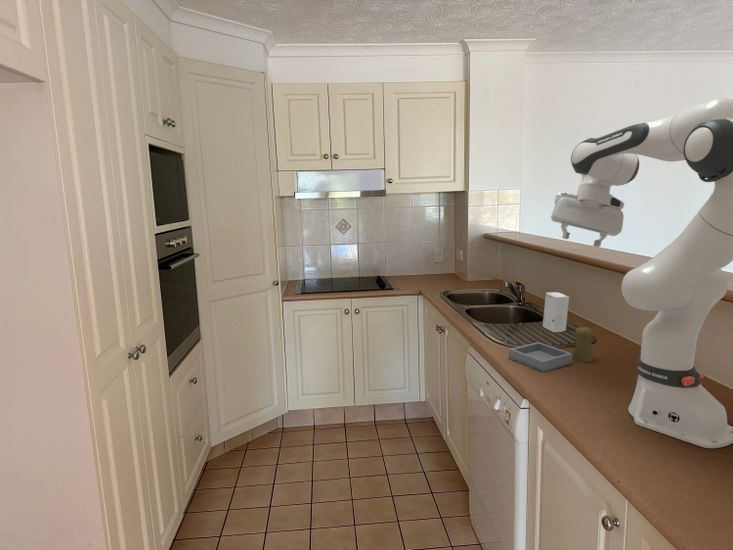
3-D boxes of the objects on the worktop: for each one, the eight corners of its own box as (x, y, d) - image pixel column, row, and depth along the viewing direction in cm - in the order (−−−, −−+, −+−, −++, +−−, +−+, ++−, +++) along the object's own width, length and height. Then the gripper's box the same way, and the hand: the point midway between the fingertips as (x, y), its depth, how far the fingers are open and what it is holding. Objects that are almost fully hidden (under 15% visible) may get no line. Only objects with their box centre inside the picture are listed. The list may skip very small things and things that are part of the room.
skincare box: (542, 327, 194) (544, 292, 192) (555, 326, 195) (557, 291, 193) (553, 333, 186) (555, 296, 184) (567, 332, 187) (569, 295, 185)
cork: (581, 363, 154) (583, 331, 152) (568, 357, 159) (570, 326, 157) (596, 361, 155) (598, 329, 153) (583, 355, 161) (585, 324, 159)
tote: (572, 363, 153) (572, 353, 153) (542, 372, 147) (542, 361, 146) (538, 351, 165) (538, 342, 165) (509, 358, 159) (509, 349, 158)
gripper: (560, 188, 141) (549, 231, 140) (630, 204, 138) (619, 249, 137) (554, 193, 147) (543, 235, 146) (620, 209, 145) (610, 252, 144)
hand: (580, 242), depth 142 cm, fingers open, 8 cm apart
